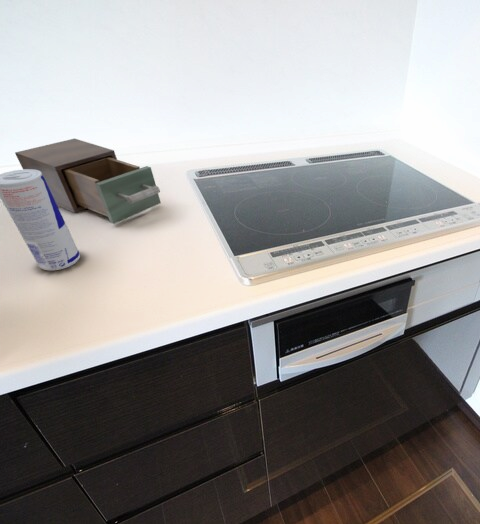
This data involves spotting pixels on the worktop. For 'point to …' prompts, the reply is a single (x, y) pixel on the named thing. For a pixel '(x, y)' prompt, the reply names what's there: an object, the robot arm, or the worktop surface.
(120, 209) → the drawer
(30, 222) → the beverage can
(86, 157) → the cabinet
